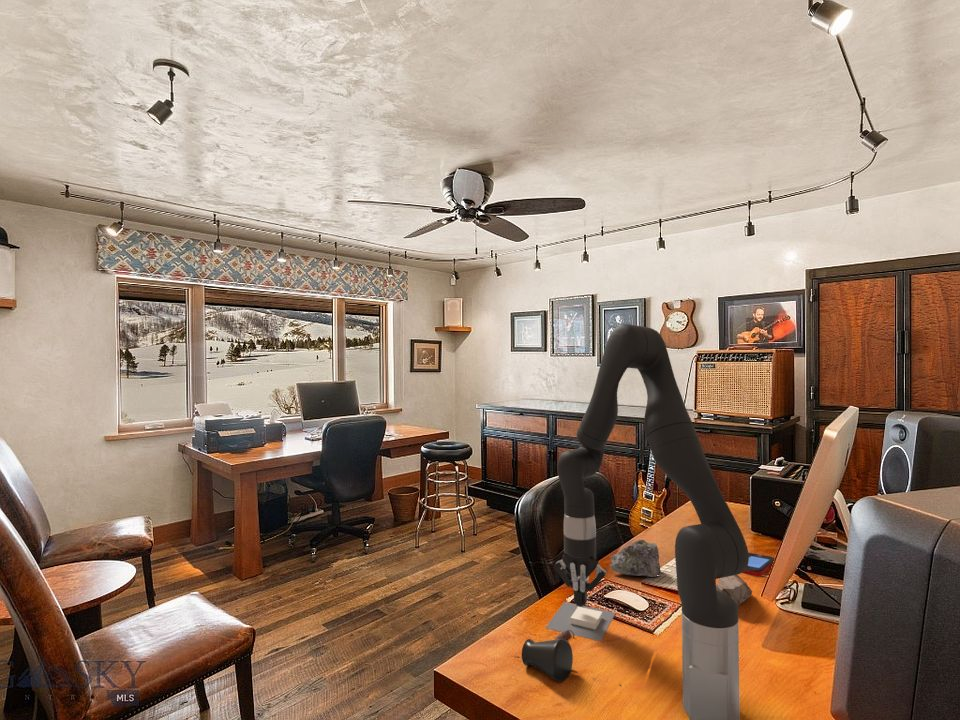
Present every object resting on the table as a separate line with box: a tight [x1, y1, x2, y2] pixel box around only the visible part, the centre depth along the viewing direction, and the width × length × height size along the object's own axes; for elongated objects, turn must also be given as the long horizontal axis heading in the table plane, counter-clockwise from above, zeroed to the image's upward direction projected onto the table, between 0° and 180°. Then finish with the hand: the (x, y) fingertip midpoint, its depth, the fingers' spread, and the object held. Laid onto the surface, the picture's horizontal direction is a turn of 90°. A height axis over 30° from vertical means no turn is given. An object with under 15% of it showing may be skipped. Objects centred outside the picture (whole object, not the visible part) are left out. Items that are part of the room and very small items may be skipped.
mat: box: [545, 601, 616, 642], centre depth 124 cm, size 14×13×1 cm
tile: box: [570, 607, 603, 629], centre depth 123 cm, size 6×2×6 cm
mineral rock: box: [609, 539, 662, 578], centre depth 151 cm, size 13×11×10 cm
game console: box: [741, 551, 776, 577], centre depth 156 cm, size 14×13×2 cm
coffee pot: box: [521, 630, 575, 683], centre depth 109 cm, size 8×18×8 cm
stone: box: [716, 574, 753, 607], centre depth 132 cm, size 15×9×10 cm
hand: (580, 605), depth 124 cm, fingers closed
